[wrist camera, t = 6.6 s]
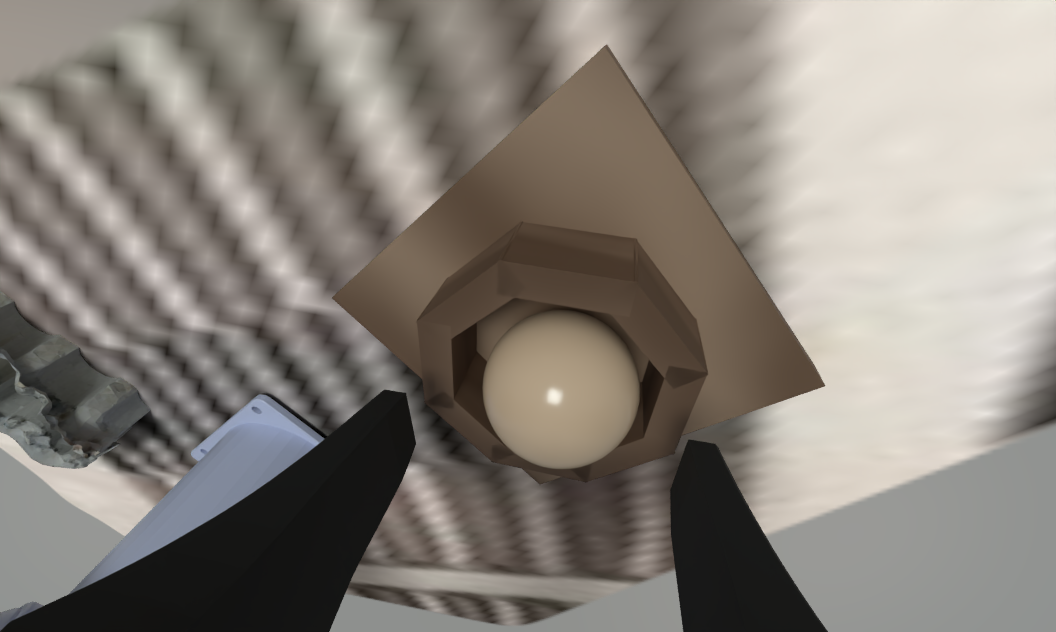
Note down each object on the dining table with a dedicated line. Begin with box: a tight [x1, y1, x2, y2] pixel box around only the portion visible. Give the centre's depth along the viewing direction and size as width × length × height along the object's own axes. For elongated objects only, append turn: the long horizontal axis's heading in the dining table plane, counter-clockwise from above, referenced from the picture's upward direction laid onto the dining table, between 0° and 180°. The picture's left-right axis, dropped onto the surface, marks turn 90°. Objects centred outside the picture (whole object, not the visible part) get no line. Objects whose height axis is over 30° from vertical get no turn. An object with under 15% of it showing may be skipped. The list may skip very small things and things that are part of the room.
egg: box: [482, 310, 640, 469], centre depth 13 cm, size 5×5×5 cm
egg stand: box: [332, 45, 825, 484], centre depth 14 cm, size 12×12×4 cm
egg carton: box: [0, 291, 150, 469], centre depth 23 cm, size 11×8×4 cm
